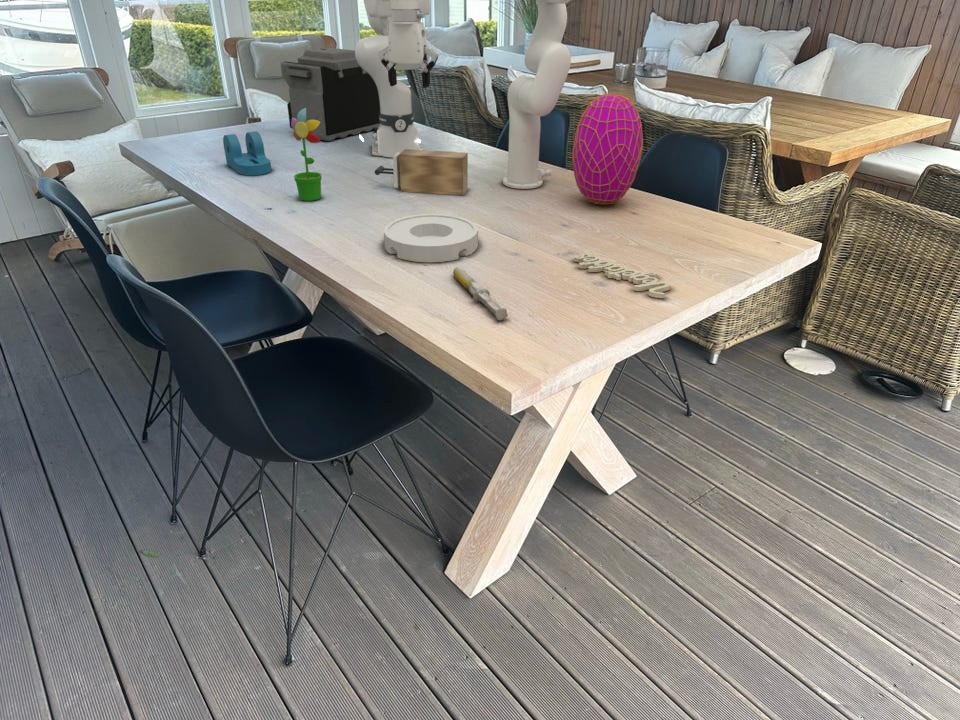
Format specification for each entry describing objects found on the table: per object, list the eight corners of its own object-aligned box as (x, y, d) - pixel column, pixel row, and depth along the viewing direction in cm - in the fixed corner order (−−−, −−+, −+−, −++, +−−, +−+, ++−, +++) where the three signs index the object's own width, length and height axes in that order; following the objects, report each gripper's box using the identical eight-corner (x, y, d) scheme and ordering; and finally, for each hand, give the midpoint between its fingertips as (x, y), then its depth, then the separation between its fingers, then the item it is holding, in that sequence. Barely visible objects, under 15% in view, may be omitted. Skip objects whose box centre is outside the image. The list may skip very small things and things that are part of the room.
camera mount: (227, 164, 233) (221, 132, 227) (257, 160, 238) (252, 129, 233) (244, 176, 220) (239, 143, 215) (276, 172, 225) (271, 139, 220)
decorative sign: (686, 282, 150) (660, 295, 144) (686, 286, 150) (659, 300, 144) (592, 249, 166) (565, 259, 160) (592, 253, 167) (565, 263, 161)
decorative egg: (611, 217, 189) (624, 103, 174) (555, 202, 201) (562, 94, 185) (647, 202, 202) (662, 94, 186) (592, 188, 213) (602, 86, 198)
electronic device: (351, 120, 297) (345, 44, 282) (389, 127, 286) (385, 48, 271) (285, 135, 271) (274, 52, 256) (324, 143, 260) (315, 57, 245)
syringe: (449, 274, 155) (449, 263, 153) (465, 272, 156) (464, 260, 154) (490, 323, 135) (491, 310, 133) (508, 319, 136) (508, 307, 134)
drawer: (375, 186, 211) (372, 155, 206) (380, 181, 215) (378, 150, 210) (452, 191, 207) (452, 159, 202) (456, 186, 211) (456, 155, 206)
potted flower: (330, 196, 204) (321, 108, 191) (314, 203, 197) (304, 113, 185) (304, 192, 207) (294, 105, 194) (288, 199, 201) (276, 109, 188)
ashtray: (391, 227, 181) (390, 212, 179) (479, 229, 180) (479, 214, 178) (377, 261, 161) (376, 245, 159) (476, 263, 160) (476, 247, 158)
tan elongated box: (400, 191, 209) (398, 154, 204) (406, 185, 215) (405, 148, 209) (463, 195, 206) (463, 157, 201) (467, 189, 212) (467, 152, 206)
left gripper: (420, -22, 199) (422, 31, 206) (361, -21, 187) (365, 35, 194) (434, -21, 195) (435, 32, 202) (375, -21, 183) (378, 36, 190)
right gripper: (441, 16, 180) (443, 85, 189) (381, 15, 185) (386, 82, 194) (431, 18, 174) (433, 90, 183) (369, 17, 179) (375, 87, 188)
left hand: (400, 33), depth 198 cm, fingers open, 8 cm apart
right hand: (409, 86), depth 188 cm, fingers open, 9 cm apart
